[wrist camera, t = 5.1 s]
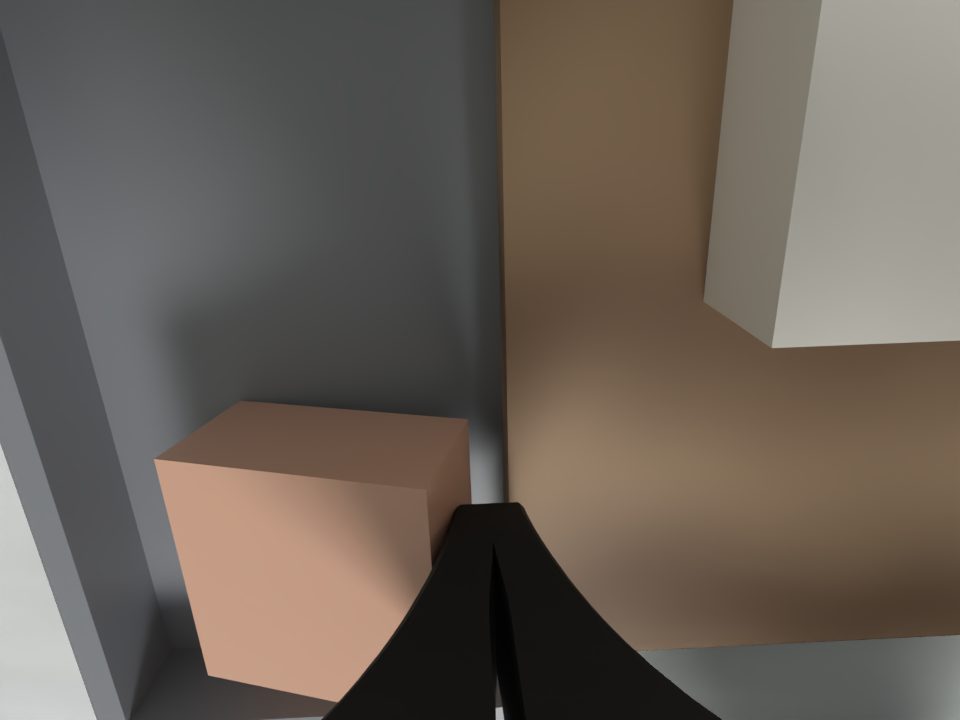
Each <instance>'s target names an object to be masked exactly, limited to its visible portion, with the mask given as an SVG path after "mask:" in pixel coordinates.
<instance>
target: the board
mask: <svg viewBox="0 0 960 720" xmlns="http://www.w3.org/2000/svg"><path fill="white" fill-rule="evenodd" d="M733 1H734V0H494V29H495V77H496V125H497V173H498V221H499V269H500V317H501V365H502V413H503V461H504V503H509V502H519V503H520V504H521V505H522V506H523V507H524V508H525V511H526V513H527V515H528V517H529V519H530V521H531V522H532V524H533V526H534V528H535V529H536V531H537V533H538V534H539V536H540V537H541V539H542V541H543V542H544V544H545V545H546V547H547V548H548V550H549V551H550V553H551V554H552V556H553V557H554V558H555V560H556V561H557V563H558V564H559V565H560V567H561V568H562V569H563V571H564V572H565V574H566V575H567V576H568V578H569V579H570V580H571V581H572V583H573V584H574V585H575V586H576V588H577V589H578V590H579V591H580V592H581V594H582V595H583V596H584V597H585V598H586V600H587V601H588V602H589V603H590V604H591V606H592V607H593V608H594V609H595V610H596V611H597V612H598V613H599V615H600V616H601V617H602V618H603V619H604V620H605V621H606V622H607V623H608V624H609V625H610V626H611V627H612V628H613V629H614V630H615V631H616V632H617V633H618V634H619V635H620V636H621V637H622V638H623V639H624V640H625V641H626V642H627V643H628V644H629V645H630V646H631V647H632V648H633V649H634V650H635V651H644V650H664V649H684V648H704V647H724V646H744V645H765V644H785V643H805V642H825V641H845V640H866V639H886V638H906V637H926V636H946V635H960V341H936V342H911V343H887V344H862V345H837V346H813V347H788V348H771V347H769V346H768V345H766V344H765V343H763V342H762V341H760V340H759V339H758V338H756V337H755V336H753V335H752V334H750V333H749V332H747V331H746V330H744V329H743V328H741V327H740V326H739V325H737V324H736V323H734V322H733V321H731V320H730V319H728V318H727V317H725V316H724V315H723V314H721V313H720V312H718V311H717V310H715V309H714V308H712V307H711V306H709V305H708V304H706V303H705V302H704V301H703V299H704V289H705V280H706V270H707V260H708V250H709V240H710V230H711V220H712V210H713V200H714V190H715V180H716V170H717V160H718V150H719V140H720V130H721V120H722V110H723V101H724V91H725V81H726V71H727V61H728V51H729V41H730V31H731V21H732V11H733Z"/></svg>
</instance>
